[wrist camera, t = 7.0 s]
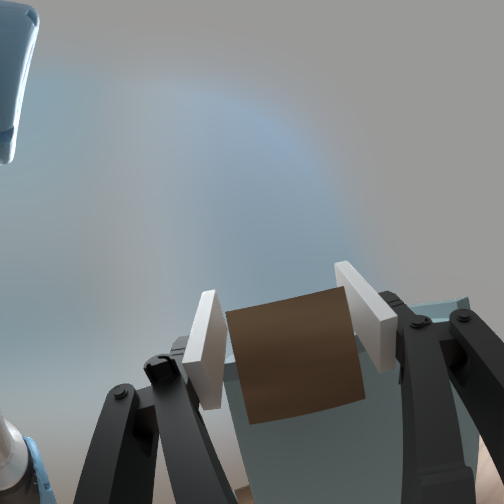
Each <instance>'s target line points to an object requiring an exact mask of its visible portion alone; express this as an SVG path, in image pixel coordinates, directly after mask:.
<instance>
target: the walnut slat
mask: <svg viewBox="0 0 504 504" xmlns="http://www.w3.org/2000/svg"><path fill="white" fill-rule="evenodd" d="M225 313H226V318H227V323H228V328H229V333H230V338H231V343H232V347H233V352H234V357H235V362H236V367H237V371H238V376H239V381H240V385H241V390H242V394H243V399H244V403H245V407H246V412H247V416H248V420H249V424H250V425H252V424H258V423H265V422H271V421H276V420H282V419H287V418H292V417H297V416H301V415H306V414H311V413H315V412H319V411H323V410H327V409H331V408H335V407H339V406H342V405H346V404H350V403H353V402H356V401H360V400H363V399H366V397H365V390H364V384H363V378H362V372H361V366H360V361H359V355H358V350H357V345H356V340H355V335H354V330H353V325H352V320H351V315H350V311H349V306H348V302H347V297H346V293H345V288H344V286H341V287H337V288H333V289H329V290H325V291H321V292H316V293H312V294H308V295H303V296H299V297H295V298H290V299H286V300H281V301H276V302H272V303H268V304H263V305H258V306H253V307H248V308H243V309H238V310H233V311H228V312H225Z"/></svg>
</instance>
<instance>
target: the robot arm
mask: <svg viewBox="0 0 504 504" xmlns="http://www.w3.org/2000/svg"><path fill="white" fill-rule="evenodd" d="M39 23H40V21H39V16H38V13H37V11H36V10H35V9H34V8H33V7H32V6H29V5H26V4H21V3H15V2H10V1H4V0H0V167H1V166H2V165H4V164H8V163H10V162H11V161H12V159H13V157H14V151H15V145H16V136H17V128H18V123H19V118H20V112H21V106H22V100H23V95H24V89H25V85H26V80H27V76H28V71H29V67H30V63H31V58H32V54H33V50H34V46H35V42H36V38H37V34H38V30H39ZM334 265H335V273H336V281H337V287H341V286H344V288H345V293H346V297H347V302H348V306H349V311H350V315H351V320H352V325H353V329H354V331H355V332H356V334H357V336H358V337H359V339H360V341H361V342H362V344H363V346H364V348H365V349H366V351H367V353H368V354H369V356H370V358H371V360H372V361H373V363H374V365H375V367H376V368H377V370H378V372H379V374H380V373H383V372H386V371H389V370H392V369H395V364H396V359H397V360H398V362H399V363H400V373H399V382H398V385H399V384H401V398H402V419H403V473H402V492H401V504H476V496H475V483H474V475H473V470H472V469H471V467H469V466H466V465H465V461H464V454H463V447H462V440H461V433H460V427H459V422H458V416H457V411H456V406H455V402H454V397H453V392H452V388H451V384H450V381H451V383H452V385H453V386H454V388H455V390H456V391H457V393H458V395H459V397H460V398H461V400H462V402H463V404H464V406H465V407H466V409H467V411H468V413H469V415H470V416H471V418H472V420H473V422H474V424H475V426H476V428H477V430H478V431H479V433H480V435H481V437H482V439H483V441H484V443H485V445H486V447H487V449H488V451H489V454H490V456H491V458H492V460H493V462H494V464H495V466H496V469H497V471H498V473H499V475H500V478H501V480H502V482H503V485H504V343H503V342H502V340H501V339H500V338H499V337H498V336H497V335H496V334H495V333H494V332H493V331H492V330H491V329H490V328H489V327H488V325H487V324H486V323H485V322H484V321H483V320H482V319H481V318H480V317H479V316H478V315H477V314H476V313H475V312H473V311H472V310H469V309H456V310H454V311H452V312H451V313H450V316H449V321H444V322H435V323H433V321H432V320H431V318H429V317H427V316H424V315H416V314H415V313H414V312H413V311H412V310H411V309H410V308H409V307H408V306H407V305H406V304H404V302H403V301H402V300H400V299H399V297H398V296H397V295H396V294H394V293H392V292H389V291H384V292H381V293H377V292H376V291H375V290H374V289H373V288H372V287H371V286H370V285H369V284H368V282H367V281H366V280H365V279H364V278H363V277H362V276H361V275H360V274H359V273H358V272H357V271H356V270H355V269H354V268H353V266H351V264H350V263H349V262H348V261H342V262H338V263H334ZM226 340H227V326H226V323H225V320H224V317H223V313H222V310H221V307H220V303H219V300H218V297H217V293H216V290H210V291H205V292H203V293H202V296H201V299H200V302H199V306H198V309H197V312H196V316H195V319H194V322H193V326H192V329H191V333H190V335H189V336H183V337H179V338H178V339H177V340H176V341H175V342H174V343H173V345H172V349H171V351H170V354H160V355H156V356H154V357H152V358H150V359H149V360H148V361H147V362H146V363H145V364H144V371H145V373H146V375H147V376H148V378H149V380H150V382H151V386H149V387H146V388H143V389H140V390H135V388H134V387H133V386H132V385H130V384H120V385H117V386H115V387H114V388H113V389H111V390H110V391H109V393H108V394H107V397H106V400H105V403H104V405H103V408H102V411H101V414H100V417H99V419H98V422H97V425H96V428H95V431H94V434H93V437H92V440H91V444H90V447H89V450H88V453H87V456H86V459H85V463H84V466H83V470H82V473H81V477H80V480H79V484H78V487H77V491H76V495H75V499H74V503H73V504H152V499H153V488H154V477H155V467H156V458H157V449H158V440H159V433H160V438H161V443H162V447H163V452H164V457H165V461H166V466H167V470H168V474H169V478H170V482H171V486H172V490H173V494H174V497H175V501H176V504H238V502H237V500H236V498H235V495H234V493H233V491H232V489H231V487H230V485H229V482H228V480H227V478H226V476H225V473H224V471H223V469H222V466H221V464H220V461H219V459H218V457H217V455H216V452H215V449H214V447H213V444H212V442H211V440H210V437H209V434H208V432H207V429H206V426H205V424H204V421H203V418H202V416H201V414H200V412H199V410H198V409H199V403H200V404H201V406H202V408H203V410H212V409H220V408H221V398H222V385H223V374H224V363H225V351H226ZM0 504H57V503H56V499H55V496H54V493H53V490H52V488H51V486H50V482H49V479H48V475H47V473H46V470H45V467H44V464H43V461H42V458H41V455H40V452H39V450H38V447H37V445H36V443H35V441H34V440H33V439H32V438H30V437H25V436H21V434H20V433H19V432H18V430H17V429H16V428H15V427H14V426H13V425H12V424H11V423H9V422H8V421H6V420H5V419H4V418H3V416H2V413H1V410H0Z"/></svg>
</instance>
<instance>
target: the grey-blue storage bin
mask: <svg viewBox="0 0 504 504" xmlns="http://www.w3.org/2000/svg"><path fill="white" fill-rule="evenodd" d="M407 306H408V307H409V308H410V309H411V310H412V311H413V312H414V313H415V314H416V315H424V316H427V317H429V318H431V320H432V321H433V323H435V322H444V321H449V316H450V313H451V312H452V311H454V310H456V309H469V310H470V304H469V299H468V297H464V298H458V299H451V300H444V301H437V302H430V303H423V304H415V305H407ZM353 330H354V329H353ZM354 335H355V340H356V345H357V350H358V355H359V361H360V366H361V372H362V378H363V384H364V390H365V397H366V399H363V400H360V401H356V402H353V403H350V404H346V405H342V406H339V407H335V408H331V409H327V410H323V411H319V412H315V413H311V414H306V415H301V416H297V417H292V418H287V419H282V420H276V421H271V422H265V423H258V424H252V425H250V424H249V420H248V416H247V412H246V407H245V403H244V399H243V394H242V390H241V385H240V381H239V376H238V371H237V367H236V362H235V357H234V354H232V355H231V356H230V357H229V358H227V359H226V360H225V363H224V374H223V381H224V386H225V390H226V395H227V399H228V403H229V407H230V411H231V416H232V420H233V424H234V428H235V432H236V436H237V440H238V443H239V448H240V452H241V455H242V459H243V462H244V467H245V470H246V474H247V477H248V481H249V485H250V488H251V492H252V495H253V498H254V502H255V504H401V492H402V473H403V419H402V398H401V384H399V385H398V382H399V373H400V363H399V362H398V360H397V359H396V364H395V369H392V370H389V371H386V372H383V373H380V374H379V372H378V370H377V368H376V367H375V365H374V363H373V361H372V360H371V358H370V356H369V354H368V353H367V351H366V349H365V348H364V346H363V344H362V342H361V341H360V339H359V337H358V336H357V334H356V332H355V331H354ZM450 384H451V388H452V392H453V397H454V402H455V406H456V411H457V416H458V422H459V427H460V433H461V440H462V447H463V454H464V461H465V465H466V466H469V467H471V469H472V470H473V475H474V483H475V480H476V472H477V463H478V451H479V431H478V430H477V428H476V426H475V424H474V422H473V420H472V418H471V416H470V415H469V413H468V411H467V409H466V407H465V406H464V404H463V402H462V400H461V398H460V397H459V395H458V393H457V391H456V390H455V388H454V386H453V385H452V383H451V381H450Z"/></svg>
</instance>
